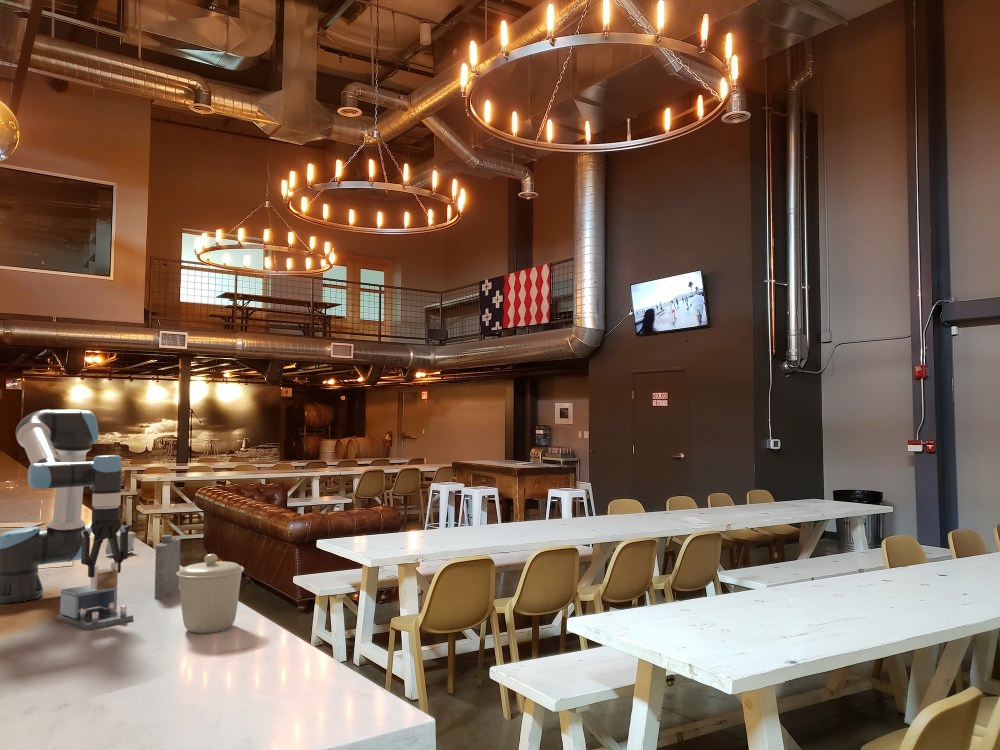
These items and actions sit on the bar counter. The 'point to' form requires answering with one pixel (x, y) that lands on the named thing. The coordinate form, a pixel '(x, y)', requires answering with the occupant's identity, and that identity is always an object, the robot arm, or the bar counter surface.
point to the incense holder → (130, 542)
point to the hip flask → (167, 566)
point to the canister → (209, 594)
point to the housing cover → (85, 599)
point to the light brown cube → (107, 579)
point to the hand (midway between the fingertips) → (104, 586)
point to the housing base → (101, 618)
